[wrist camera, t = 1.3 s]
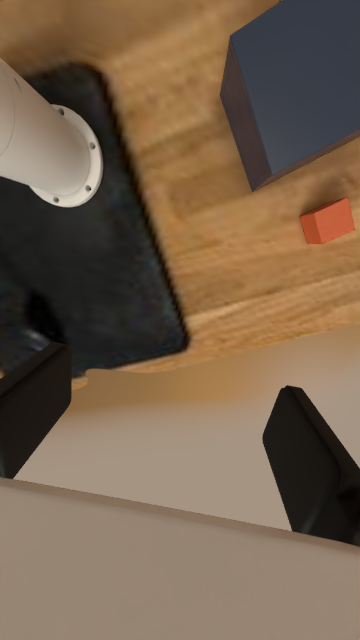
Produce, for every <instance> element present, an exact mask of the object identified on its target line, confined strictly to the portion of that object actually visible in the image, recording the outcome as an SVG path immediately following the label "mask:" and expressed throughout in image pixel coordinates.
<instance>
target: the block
mask: <svg viewBox="0 0 360 640" xmlns="http://www.w3.org/2000/svg"><path fill="white" fill-rule="evenodd" d="M300 219H301V222H302V226H303V230H304V233H305V237H306V240H307V243H308V244H324V243H326V242H328V241H331V240H333V239H335V238H337V237H340V236H342V235H344V234H346V233H349V232H351V231H353V230H355V227H354V223H353V218H352V214H351V209H350V205H349V200H348V197H347V198H343V199H340V200H336V201H333V202H329V203H327V204H325V205H323V206H321V207H319V208H316V209H314V210H312V211H310V212H308V213H306V214H304V215H302V216H300Z"/></svg>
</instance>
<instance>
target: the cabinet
mask: <svg viewBox="0 0 360 640" xmlns="http://www.w3.org/2000/svg"><path fill="white" fill-rule="evenodd" d="M220 97H221V100H222V103H223V106H224V109H225V112H226V115H227V118H228V121H229V124H230V127H231V130H232V133H233V136H234V139H235V142H236V145H237V148H238V151H239V154H240V157H241V160H242V163H243V166H244V169H245V171H246V174H247V177H248V180H249V183H250V186H251V189H252V192H253V191H255V190H257V189H259V188H261V187H263V186H265V185H267V184H269V183H271V182H273V181H275V180H277V179H278V178H280V177H282V176H284V175H286V174H288V173H290V172H292V171H294V170H296V169H298V168H300V167H302V166H304V165H305V164H307V163H309V162H311V161H313V160H315V159H317V158H319V157H321V156H323V155H325V154H327V153H329V152H331V151H332V150H334V149H336V148H338V147H340V146H342V145H344V144H346V143H348V142H350V141H352V140H354V139H356V138H357V137H359V136H360V0H282V1H281V2H279V3H278V4H276V5H275V6H273V7H272V8H270V9H269V10H267V11H266V12H264V13H263V14H261V15H260V16H259V17H257V18H256V19H254V20H253V21H251V22H250V23H248V24H247V25H245V26H244V27H242V28H241V29H239V30H238V31H236V32H235V33H233V34H232V35H230V40H229V46H228V52H227V58H226V63H225V69H224V75H223V81H222V87H221V92H220Z"/></svg>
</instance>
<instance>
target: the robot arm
mask: <svg viewBox="0 0 360 640" xmlns="http://www.w3.org/2000/svg"><path fill="white" fill-rule="evenodd" d="M94 146H96V147H95V148H94ZM102 174H103V157H102V152H101V148H100V145H99V142H98V139H97V138H96V136H95V134H94V132H93V130H92V129H91V128H90V127H89V125H88V124H87V123H86V122H85V121H84V120H83V119H82V118H81V117H80V116H79V115H78V114H76V113H75V112H74V111H72V110H70V109H68V108H66V107H64V106H60V105H50V104H49V103H48V102H47V101H46V100H45V99H44V98H43V97H42V96H41V95H40V94H39V93H38V92H37V91H36V90H34V89H33V88H32V87H31V86H30V85H29V84H28V83H27V82H26V81H25V80H24V79H23V78H22V77H21V76H20V75H18V74H17V73H16V72H15V71H14V70H13V69H12V68H11V67H10V66H9V65H8V64H7V63H6V62H5V61H4V60H2V59H1V58H0V176H2V177H5V178H9V179H12V180H15V181H18V182H21V183H24V184H27V185H29V186H30V187H31V189H32V190H33V191H34V192H35V193H36V194H37V195H38V196H40V197H41V198H42V199H44V200H45V201H47V202H49V203H51V204H54V205H57V206H61V207H75V206H79V205H81V204H83V203H86V202H87V201H88V200H89V199H91V198H92V196H93V195H94V194H95V193H96V191H97V189H98V187H99V185H100V182H101V179H102ZM90 188H91V191H90V190H89V189H90ZM58 199H59V202H58ZM71 373H72V351H71V349H69V348H68V345H66V344H61V343H55V342H52V343H51V344H49V345H48V346H46V347H45V348H44V349H42V350H41V351H39V352H38V353H36V354H35V355H34V356H32V357H31V358H29V359H28V360H27V361H25V362H24V363H22V364H21V365H20V366H18V367H17V368H15V369H14V370H12V371H11V372H10V373H8V374H7V375H5V376H4V377H3V378H1V379H0V640H360V468H359V467H358V466H357V464H356V463H355V461H354V460H353V459H352V457H351V456H350V454H349V453H348V452H347V450H346V449H345V448H344V446H343V445H342V443H341V442H340V441H339V439H338V438H337V436H336V435H335V434H334V432H333V431H332V430H331V428H330V427H329V425H328V424H327V423H326V421H325V420H324V419H323V417H322V416H321V414H320V413H319V412H318V410H317V409H316V407H315V406H314V405H313V403H312V402H311V400H310V399H309V398H308V396H307V395H306V393H305V392H304V391H303V389H302V388H298V387H293V386H288V385H287V386H286V387H285V388H281V390H280V392H279V394H278V397H277V399H276V402H275V405H274V407H273V410H272V412H271V415H270V418H269V420H268V422H267V425H266V428H265V430H264V433H263V444H264V447H265V450H266V453H267V456H268V459H269V462H270V465H271V468H272V471H273V474H274V477H275V480H276V483H277V486H278V489H279V492H280V495H281V498H282V501H283V504H284V507H285V510H286V513H287V516H288V519H289V522H290V525H291V528H292V531H293V532H292V531H287V530H282V529H277V528H272V527H266V526H261V525H256V524H251V523H246V522H241V521H236V520H231V519H226V518H220V517H215V516H210V515H205V514H200V513H194V512H189V511H183V510H178V509H173V508H168V507H163V506H157V505H152V504H147V503H141V502H135V501H131V500H125V499H120V498H114V497H109V496H103V495H98V494H93V493H87V492H81V491H76V490H70V489H65V488H60V487H54V486H49V485H42V484H37V483H32V482H26V481H19V480H14V479H13V478H14V477H15V476H16V474H17V473H18V472H19V470H20V469H21V468H22V466H23V465H24V464H25V462H26V461H27V460H28V459H29V457H30V456H31V455H32V453H33V452H34V451H35V449H36V448H37V447H38V446H39V444H40V443H41V442H42V440H43V439H44V438H45V436H46V435H47V434H48V432H49V431H50V430H51V429H52V427H53V426H54V424H55V423H56V422H57V421H58V419H59V418H60V417H61V416H62V414H63V413H64V412H65V410H66V409H67V408H68V406H69V404H70V402H71Z"/></svg>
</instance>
